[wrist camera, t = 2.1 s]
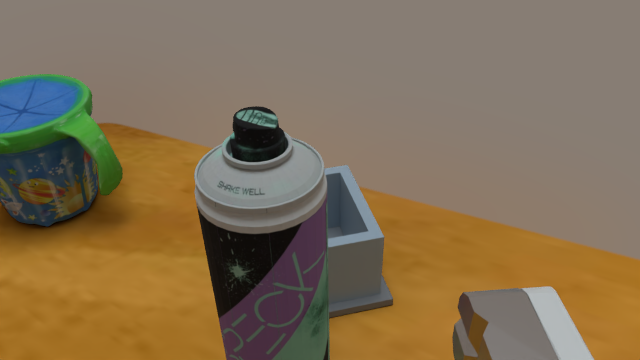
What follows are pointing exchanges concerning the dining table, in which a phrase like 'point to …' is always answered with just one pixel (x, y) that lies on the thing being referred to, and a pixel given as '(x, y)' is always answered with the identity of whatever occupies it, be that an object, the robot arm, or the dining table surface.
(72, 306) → the dining table surface
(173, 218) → the dining table surface
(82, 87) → the snack cup
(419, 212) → the dining table surface
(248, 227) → the spray can
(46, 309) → the dining table surface
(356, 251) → the collar stand
